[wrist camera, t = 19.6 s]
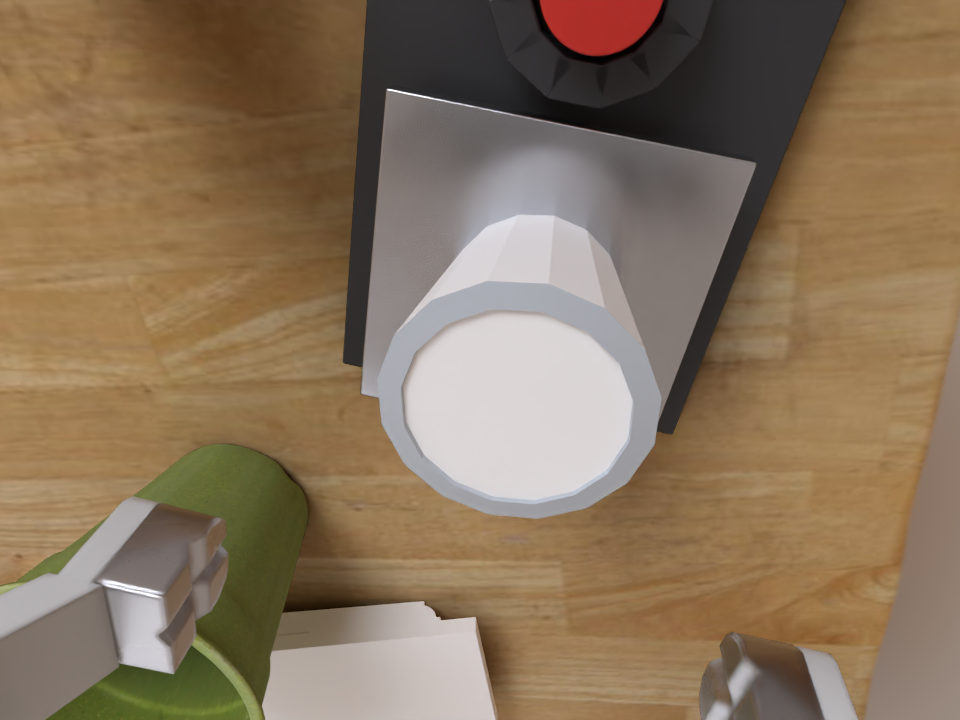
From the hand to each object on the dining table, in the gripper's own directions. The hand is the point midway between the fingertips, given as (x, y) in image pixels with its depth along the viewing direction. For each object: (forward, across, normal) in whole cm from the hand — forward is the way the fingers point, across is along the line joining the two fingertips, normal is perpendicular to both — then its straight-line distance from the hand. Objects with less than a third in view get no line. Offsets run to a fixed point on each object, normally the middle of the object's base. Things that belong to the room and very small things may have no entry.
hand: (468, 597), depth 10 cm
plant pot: (+17, +12, +17) cm, 26 cm away
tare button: (+14, 0, -8) cm, 16 cm away
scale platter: (+14, 0, +1) cm, 14 cm away
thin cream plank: (+16, +11, +29) cm, 35 cm away
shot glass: (+13, 0, 0) cm, 13 cm away
